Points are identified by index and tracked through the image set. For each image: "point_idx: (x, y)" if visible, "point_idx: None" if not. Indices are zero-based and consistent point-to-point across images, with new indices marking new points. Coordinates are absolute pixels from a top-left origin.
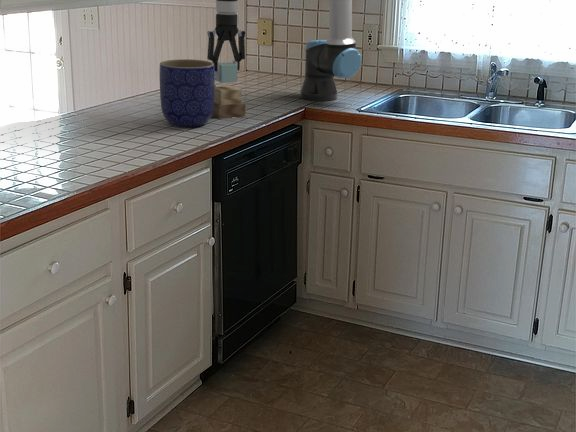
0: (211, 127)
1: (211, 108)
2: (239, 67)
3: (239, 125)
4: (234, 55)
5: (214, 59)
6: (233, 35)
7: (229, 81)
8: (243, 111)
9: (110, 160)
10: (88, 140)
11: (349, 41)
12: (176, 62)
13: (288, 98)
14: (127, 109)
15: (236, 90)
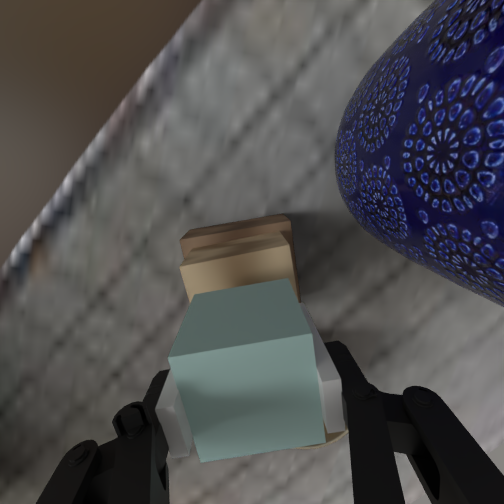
0: (343, 78)
1: (370, 69)
2: (150, 385)
3: (236, 92)
4: (162, 494)
5: (381, 407)
6: None
7: (240, 288)
8: (191, 232)
9: None
10: None
11: None
12: None
13: (10, 452)
14: (499, 369)
15: (207, 260)
